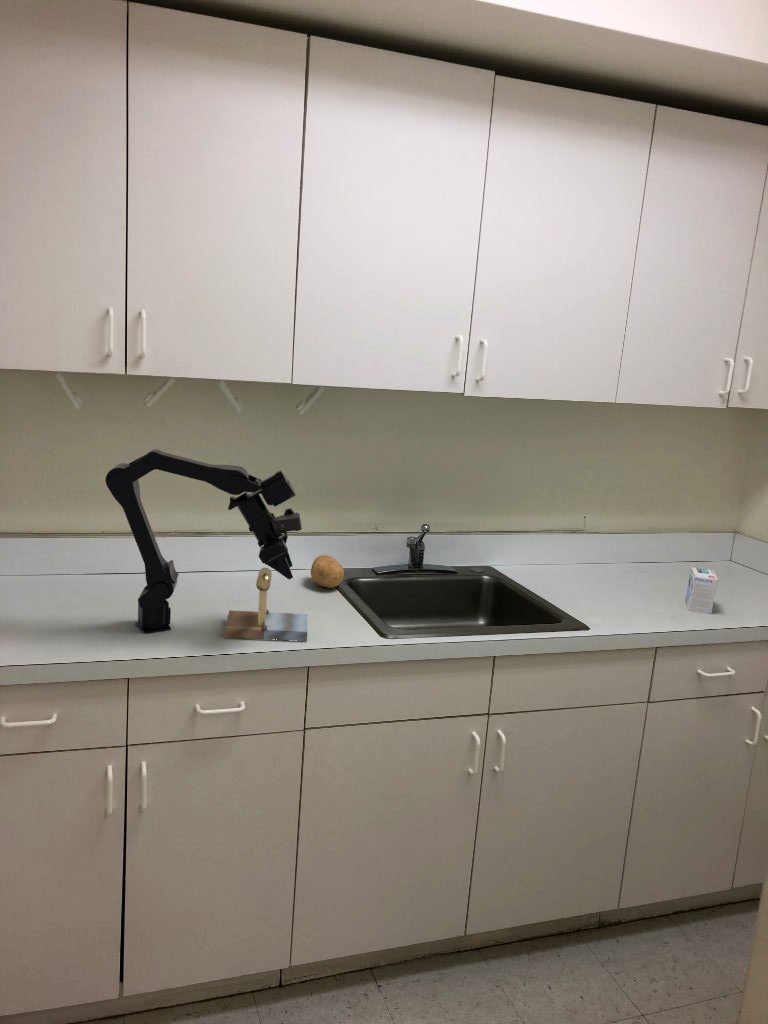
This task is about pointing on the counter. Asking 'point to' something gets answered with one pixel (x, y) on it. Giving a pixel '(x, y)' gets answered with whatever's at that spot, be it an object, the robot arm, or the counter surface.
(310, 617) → the counter surface
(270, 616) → the wood and metal base
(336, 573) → the potato
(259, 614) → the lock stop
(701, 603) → the light bulb box
